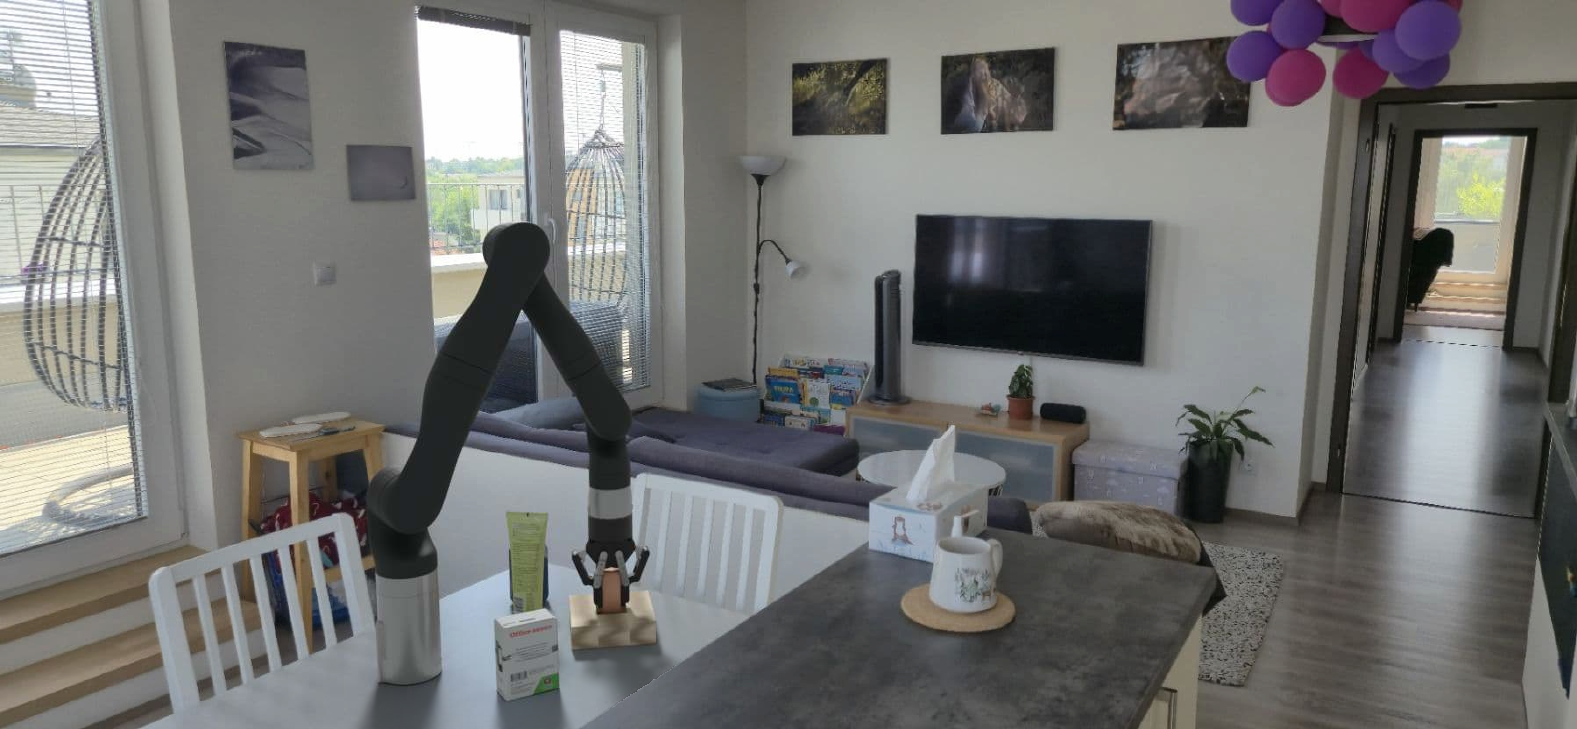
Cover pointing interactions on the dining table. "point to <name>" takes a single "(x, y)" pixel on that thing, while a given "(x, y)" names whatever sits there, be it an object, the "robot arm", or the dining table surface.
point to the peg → (611, 591)
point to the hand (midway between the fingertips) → (611, 605)
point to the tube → (527, 558)
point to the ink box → (526, 654)
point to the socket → (611, 623)
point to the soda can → (545, 577)
